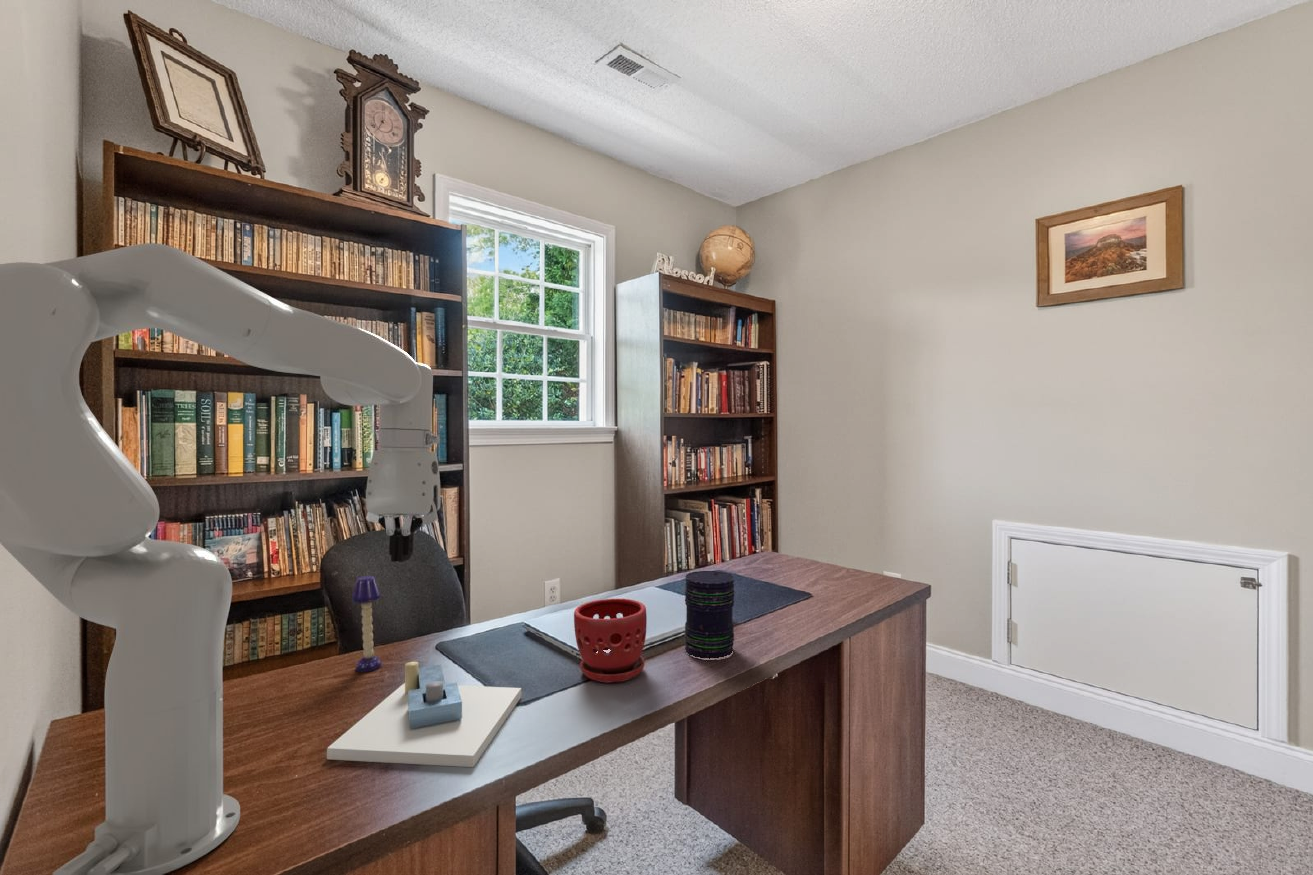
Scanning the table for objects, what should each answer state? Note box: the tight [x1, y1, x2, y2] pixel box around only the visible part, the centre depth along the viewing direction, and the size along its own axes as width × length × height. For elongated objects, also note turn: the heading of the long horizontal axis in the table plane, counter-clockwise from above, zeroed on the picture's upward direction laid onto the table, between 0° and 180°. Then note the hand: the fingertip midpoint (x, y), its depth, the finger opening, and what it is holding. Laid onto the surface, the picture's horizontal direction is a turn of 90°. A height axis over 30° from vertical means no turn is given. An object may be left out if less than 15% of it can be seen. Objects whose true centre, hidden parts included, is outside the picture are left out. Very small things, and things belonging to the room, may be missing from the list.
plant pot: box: [573, 598, 648, 684], centre depth 105 cm, size 13×13×12 cm
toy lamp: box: [351, 575, 382, 673], centre depth 107 cm, size 5×5×17 cm
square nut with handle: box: [408, 664, 462, 729], centre depth 90 cm, size 16×7×2 cm, turn 25°
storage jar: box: [684, 570, 735, 659], centre depth 116 cm, size 10×10×15 cm
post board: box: [326, 661, 522, 768], centre depth 86 cm, size 20×20×6 cm
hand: (400, 560), depth 90 cm, fingers closed
